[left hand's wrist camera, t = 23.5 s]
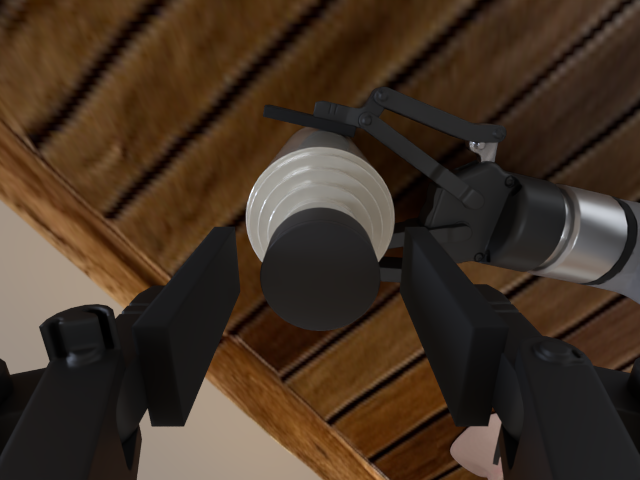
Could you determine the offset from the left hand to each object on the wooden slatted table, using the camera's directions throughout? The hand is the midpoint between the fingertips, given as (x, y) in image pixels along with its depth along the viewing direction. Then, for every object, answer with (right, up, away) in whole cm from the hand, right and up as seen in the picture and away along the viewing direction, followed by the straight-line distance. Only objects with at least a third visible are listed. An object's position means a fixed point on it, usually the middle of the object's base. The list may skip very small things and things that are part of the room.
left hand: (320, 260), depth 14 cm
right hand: (-5, +6, +14) cm, 16 cm away
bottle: (0, +8, +20) cm, 22 cm away
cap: (0, 0, -1) cm, 1 cm away
